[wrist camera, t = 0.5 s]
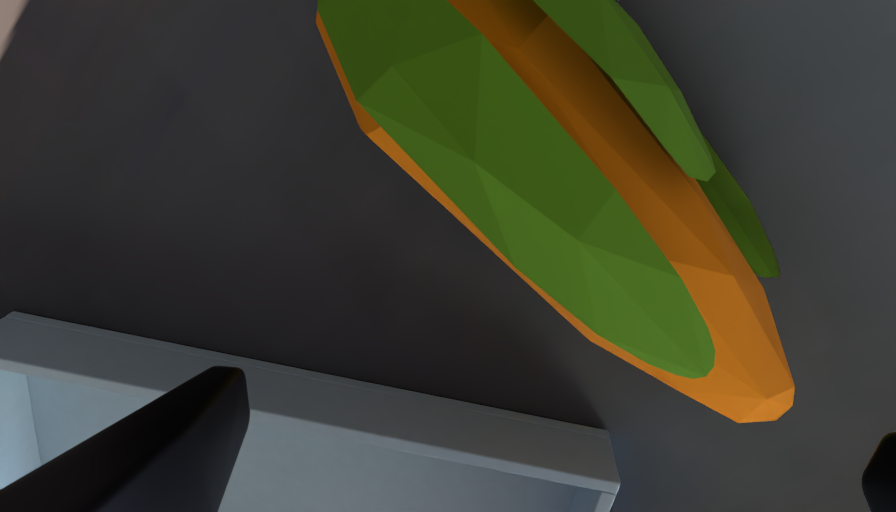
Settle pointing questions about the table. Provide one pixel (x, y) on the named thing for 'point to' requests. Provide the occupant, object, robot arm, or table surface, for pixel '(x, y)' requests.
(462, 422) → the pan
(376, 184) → the table surface
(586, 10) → the corn
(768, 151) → the table surface
